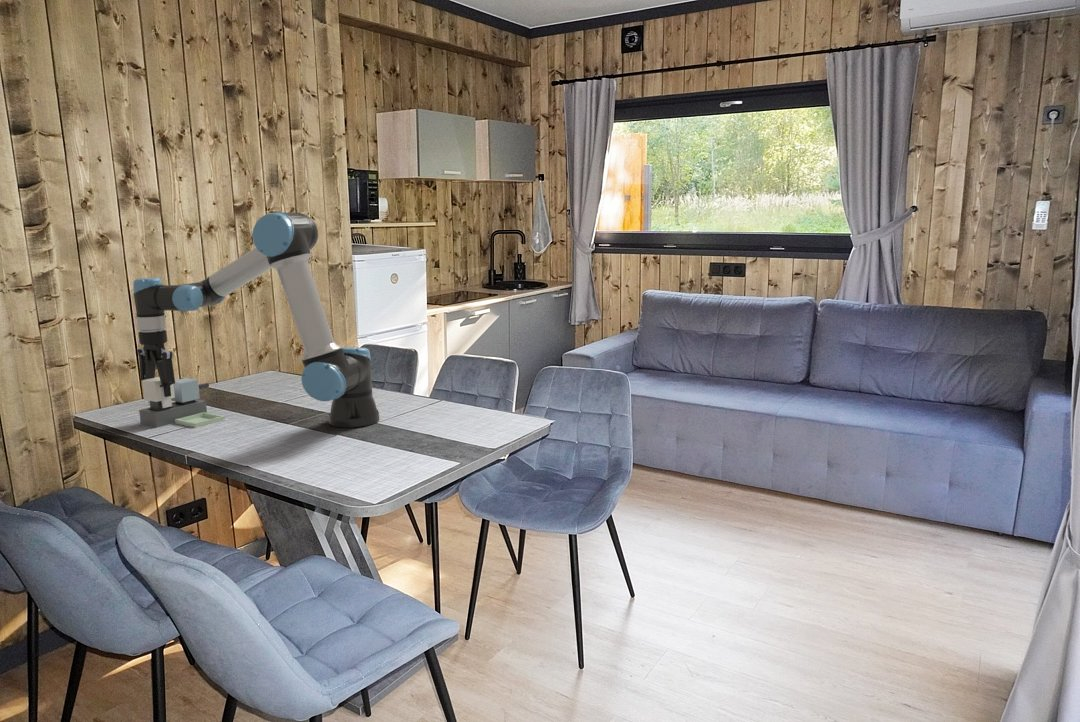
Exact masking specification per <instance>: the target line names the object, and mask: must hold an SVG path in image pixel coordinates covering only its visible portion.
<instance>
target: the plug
mask: <svg viewBox="0 0 1080 722" xmlns="http://www.w3.org/2000/svg"><path fill="white" fill-rule="evenodd" d="M141 382H142V390H143V398H144V401H148V400H149V401H150V405H149V406H150V407H149V408H150V409H151V410H152V411H157V412H158V411H162V410H166V409H170V408H171V407H166V408H162V401H161V391H160V385H162V384H161V381H160V377H159V376H157V377H155V378H151V379H146V380H142V381H141ZM170 388H171V399H172V398H175V393H174V384H172V385H171V386H170Z"/></svg>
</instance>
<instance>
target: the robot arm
mask: <svg viewBox="0 0 1080 722" xmlns="http://www.w3.org/2000/svg"><path fill="white" fill-rule="evenodd" d="M318 240H319V229H318V227H317V224H316V222H315V221H314V220H313V218H311V217H310V215H309V216H308V215H306V214H305V213H301V212H282V211H276V212H270V213H266V214H264V215H262V216H260V217H259V218H258V220H256V222H255V224H254V226H253V229H252V242H253V244H254V247H255V248H253V249H251V250H249V251H248V252H246V253H244V254H243V255H241V256H239V257H238V258H236V259H235V260H234V261H231V262H230V263H228V264H227V265H224V267H222V268H220V269H219V270H217V271H216V272H214V273H212V274H211V275H210V276H207V277H206V278H204V279H203V280H201V281H198V282H191V283H183V284H169V285H167V284H166V285H165V284H163V283H162V279H161V278H159V277H140V278H136V279H134V280H133V282H132V284H133V293H132V294H133V298H134V306H135V313H136V328H137V330H138V331H139V332H138V333H137V334H138V343H139V344H140V345H143V347H142V348H138V349H136V351H137V355H138V363H139V376H140V381H141V382H142V380H146V379H151V378H156V377H155V376H156V371H157V373H158V377H160V381H161V384H162V385H160V391H161V401H162V408H166V407H171V406H172V402H173V401H171V388H170V386H171V385H172V384H175V380H176V379H175V373H174V365H173V352H172V350H170V351H167V350H166V347H165V344H166V343H167V342H168V334H167V330H166V328H167V325H166V317H165V316H166V314H165V311H171V312H172V311H174V312H175V311H176V312H193V311H198V310H199V309H200V308H203V307H204V308H205V307H209V306H211V307H212V306H215V305H217V304H220V303H222V302H223V301H224V300H225V298H226V297H227V296H228V295H230V294H231V293H233V292H235V291H237V290H238V289H240V288H242V287H244V286H245V285H247V284H248V283H249V282H252V281H253V280H254V279H257V278H258V277H260V276H261V275H263V274H265V273H266V272H269V270H272V269H274V270H276V271H277V273H278V276H279V279H280V282H281V286H282V289H283V292H284V294H285V297H286V299H287V302H288V306H289V308H290V311H291V315H292V317H293V320H294V323H295V326H296V329H297V332H298V336H299V338H300V341H301V344H302V347H303V350H304V354H303V356H302V357H301V361H302V364H303V367H304V369H303V371H302V374H301V378H300V379H301V385H302V388H303V390H304V391H305V393H306V394H308V396H309V397H310V398H313V399H314V400H316V401H320V402H330V401H332V402H331V405H330V412H329V414H328V424H329V425H330V426H332V427H337V428H359V427H366V426H367V427H368V426H370V425H373V424H377V422H380V411H379V409H377V405H376V402H375V399H374V397H373V384H372V383H373V382H372V381H373V380H372V358H371V352H370V349H368V348H367V347H355V346H353V347H351V346H346V347H345V346H342V345H340V344H337V343H336V342H335V339H334V337H333V334H332V330H331V327H330V324H329V322H328V321H329V320H328V319H327V316H326V312H325V310H324V307H323V303H322V300H321V297H320V294H319V291H318V289H317V285H316V282H315V280H314V276H313V273H312V270H311V267H310V264H309V260H310V258H311V256H312V254H311V251H310V250H312V249H314V247H315V246H316V244H317V242H318ZM147 402H148V406H150V401H149V400H147Z"/></svg>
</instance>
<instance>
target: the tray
mask: <svg viewBox="0 0 1080 722" xmlns="http://www.w3.org/2000/svg"><path fill="white" fill-rule="evenodd" d="M225 419H226V418H225V415H220V414H216V413H210V412H207V413H205V412H202V413H198V414H194V415H191V416H187V417H183V418H179V419H175V423H174V424H176V425H180V426H186V427H190V428H195V429H197V428H200V427H204V426H208V425H212V424H215V423H216V424H217V423H219V422H223V421H226V420H225Z"/></svg>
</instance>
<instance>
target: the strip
mask: <svg viewBox="0 0 1080 722" xmlns="http://www.w3.org/2000/svg"><path fill="white" fill-rule="evenodd" d="M209 387H210V383H208V382H205V383H201V384H199V379H195V378H189V377H184V378H179V379H175V384H174V393H175V398H172V399H171V401H172V406H171V408H170V409H166V410H162V411H158V412H157V411H152V410H151V409H150V407H147V408H143V409H139V410H138V413H139V420H140V425H142V426H147V427H152V428H156V429H157V428H158V429H159V428H161V427H166V426H170V425H172V424H175V419H179V418H183V417H187V416H191V415H194V414H198V413H202V412H205V413H208V411H207V410H208V409H207V401H206V400H201V396H200V390H202V389H207V388H209Z"/></svg>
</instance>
